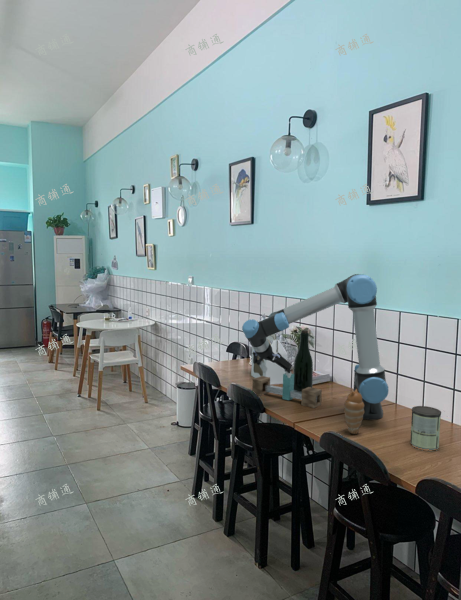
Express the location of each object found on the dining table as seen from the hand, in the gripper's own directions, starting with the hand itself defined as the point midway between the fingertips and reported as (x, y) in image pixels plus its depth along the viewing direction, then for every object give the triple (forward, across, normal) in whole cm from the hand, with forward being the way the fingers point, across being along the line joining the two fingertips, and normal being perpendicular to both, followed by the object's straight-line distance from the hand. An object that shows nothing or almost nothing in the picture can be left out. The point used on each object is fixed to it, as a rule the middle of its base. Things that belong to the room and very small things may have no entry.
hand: (277, 373), depth 222 cm
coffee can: (+6, +70, -16) cm, 72 cm away
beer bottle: (+31, -1, +9) cm, 32 cm away
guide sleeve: (+18, +13, -3) cm, 23 cm away
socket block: (+18, -16, -3) cm, 24 cm away
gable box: (+38, -28, +16) cm, 49 cm away
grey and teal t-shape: (+18, +2, -3) cm, 18 cm away
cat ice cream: (+2, +44, -20) cm, 48 cm away
